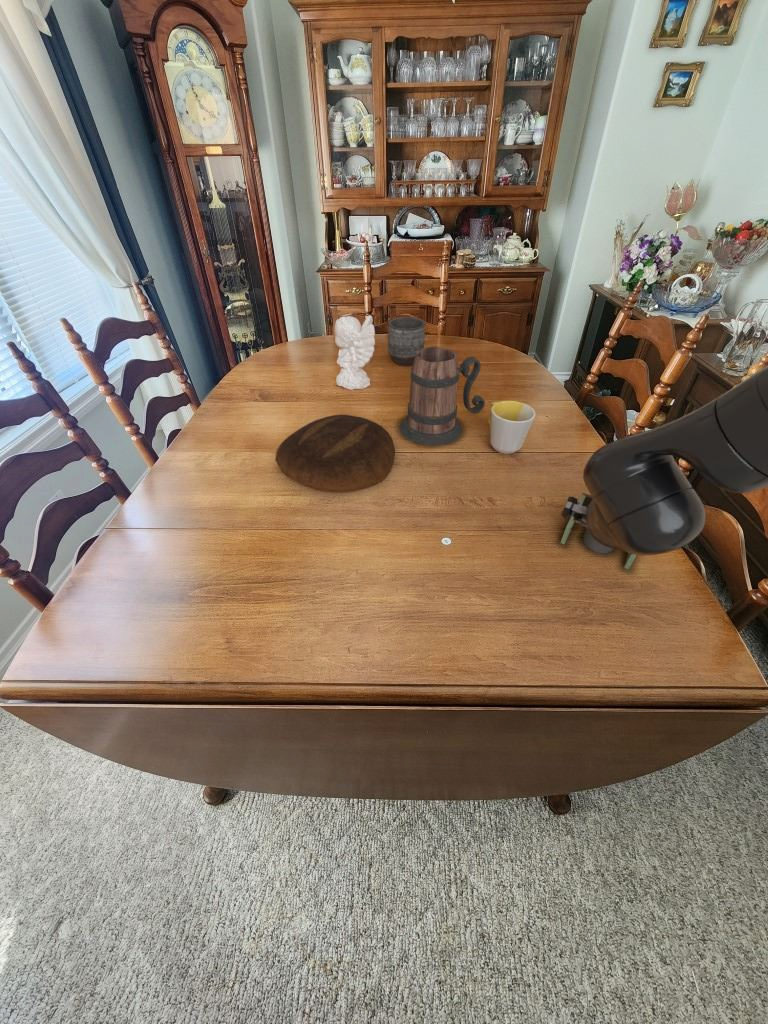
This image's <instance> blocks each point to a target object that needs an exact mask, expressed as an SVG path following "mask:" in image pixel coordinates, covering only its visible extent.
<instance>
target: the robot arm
mask: <svg viewBox="0 0 768 1024" xmlns="http://www.w3.org/2000/svg"><path fill="white" fill-rule="evenodd" d="M674 457H678V458H679V459H681V460H682V461H684V462H685V463H687V464H688V465H689V466H691V468H693V469H694V470H695V471H696V472H697V473H699V474H700V475H701V476H702V477H703V478H705V480H707V482H709V483H711V484H712V485H714V486H715V487H717V488H719V489H721V490H723V491H725V492H728V493H731V494H748V493H752V492H756V491H759V490H761V489H764V488H766V487H768V365H767V366H764V367H763V368H762V369H760V370H758V371H756V372H755V373H754V374H752V375H751V376H749V377H747V378H746V379H745V380H743V381H741V382H740V383H738V384H736V385H734V386H733V387H732V388H730V389H729V390H726V391H725V392H724V393H722V394H721V395H719V396H718V397H715V398H714V399H713V400H711V401H710V402H708V403H706V404H705V405H703V406H700V407H699V408H696V409H695V410H692V411H690V412H689V413H687V414H685V415H683V416H681V417H679V418H677V419H676V418H675V419H674V420H671V421H669V422H665V423H664V424H662V425H659V426H657V427H654V428H650V429H648V430H644V431H642V432H638V433H635V434H632V435H628V436H625V437H622V438H618V439H616V440H613V441H610V442H608V443H607V444H604V445H602V446H601V447H599V448H598V449H596V450H595V451H594V452H593V453H592V454H591V455H590V456H589V458H588V459H587V461H586V463H585V465H584V468H583V473H582V478H583V482H584V485H585V487H586V488H587V490H588V492H589V495H591V496H592V498H593V499H592V501H591V503H590V504H589V505H588V506H586V507H585V506H580V505H579V503H580V501H579V500H578V499H577V498H576V497H575V496H568V498H567V500H566V502H565V504H564V507H563V509H562V512H561V514H560V516H561V517H562V518H564V519H570V518H571V516H572V517H574V518H573V521H575V523H576V524H577V525H579V526H582V527H584V528H586V529H587V528H588V530H589V532H590V534H591V535H592V537H593V538H594V539H595V540H596V541H597V542H599V543H600V544H602V545H604V546H606V547H610V548H614V549H616V550H618V549H619V550H622V551H623V552H626V553H627V554H628V553H631V554H636V555H637V556H656V555H662V554H667V553H671V552H673V551H674V552H675V551H677V550H678V549H681V548H683V547H684V546H686V545H688V544H690V543H691V542H692V541H694V540H695V539H696V538H697V537H698V536H699V535H700V534H701V532H702V531H703V529H704V527H705V524H706V519H707V518H706V517H707V515H706V514H707V513H706V508H705V506H704V503H703V501H702V500H701V498H700V496H699V494H697V492H696V491H695V489H694V488H693V486H692V484H691V483H690V481H689V479H688V478H687V477H686V475H685V473H684V472H683V470H682V469H681V467H680V466H679V464H678V463H677V461H675V458H674Z"/></svg>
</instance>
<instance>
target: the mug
mask: <svg viewBox="0 0 768 1024" xmlns="http://www.w3.org/2000/svg"><path fill="white" fill-rule="evenodd" d="M535 418H536V410H535V409H534V408H533V407H532V406H530V405H529V404H527V403H524V402H521V401H516V400H502V401H493V402H491V403H490V406H489V410H488V417H487V422H488V426H489V427H490V439H489V440H490V445H491V446H492V448H493V449H494V450H495V451H496V452H498V453H500V454H502V455H503V454H504V455H511V454H514V453H516V452H518V451H519V450H520V449H522V447H523V445H524V443H525V441H526V438H527V436H528V434H529V432H530V429H531V427H532V425H533V423H534V420H535Z"/></svg>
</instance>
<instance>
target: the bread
mask: <svg viewBox="0 0 768 1024" xmlns="http://www.w3.org/2000/svg"><path fill="white" fill-rule="evenodd" d="M395 455H396V448H395V444H394V440H393V438H392V436H391V435H390V433H389V432H388V431H387V430H386V429H385V428H384V427H383V426H381V425H380V424H379V423H377V422H375V421H373V420H370V419H368V418H365V417H361V416H356V415H351V414H333V415H329V416H325V417H322V418H318V419H316V420H314V421H311V422H309V423H307V424H305V425H303V426H302V427H300V428H299V429H297V430H296V431H294V432H293V433H291V434H290V435H289V436H287V437H286V438H285V439H284V440H283V441H282V442H281V444H280V445H279V446H278V448H277V450H276V453H275V462H276V465H277V466H278V467H279V469H280V471H281V472H282V473H283V474H284V475H285V476H286V477H287V478H290V479H291V480H293V481H295V482H296V483H298V484H301V485H302V486H306V487H308V488H311V489H313V490H318V491H325V492H332V493H333V492H335V493H336V492H337V493H339V492H340V493H346V492H352V491H358V490H362V489H365V488H369V487H373V486H375V485H377V484H379V483H380V482H383V480H385V479H386V478H387V477H388V475H389V474H390V473H391V471H392V468H393V465H394V462H395Z"/></svg>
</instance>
